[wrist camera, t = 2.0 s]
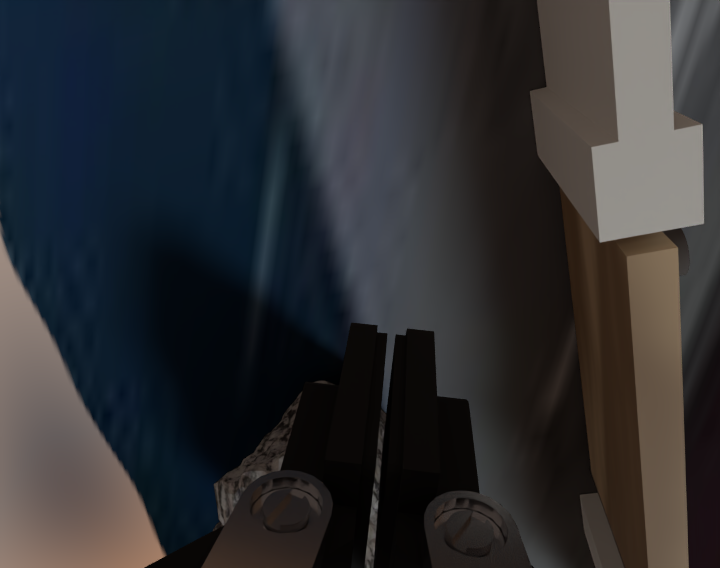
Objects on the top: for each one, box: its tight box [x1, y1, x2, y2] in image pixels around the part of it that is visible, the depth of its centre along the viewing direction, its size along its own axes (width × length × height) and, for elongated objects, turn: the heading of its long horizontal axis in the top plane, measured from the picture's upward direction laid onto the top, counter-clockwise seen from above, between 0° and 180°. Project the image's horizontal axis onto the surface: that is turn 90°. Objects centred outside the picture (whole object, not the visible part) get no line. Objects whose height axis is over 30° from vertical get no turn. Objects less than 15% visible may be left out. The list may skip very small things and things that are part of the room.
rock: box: [213, 381, 386, 568], centre depth 27 cm, size 16×8×10 cm, turn 6°
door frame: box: [530, 0, 704, 568], centre depth 23 cm, size 2×33×9 cm, turn 13°
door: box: [560, 187, 690, 568], centre depth 22 cm, size 3×16×9 cm, turn 14°
